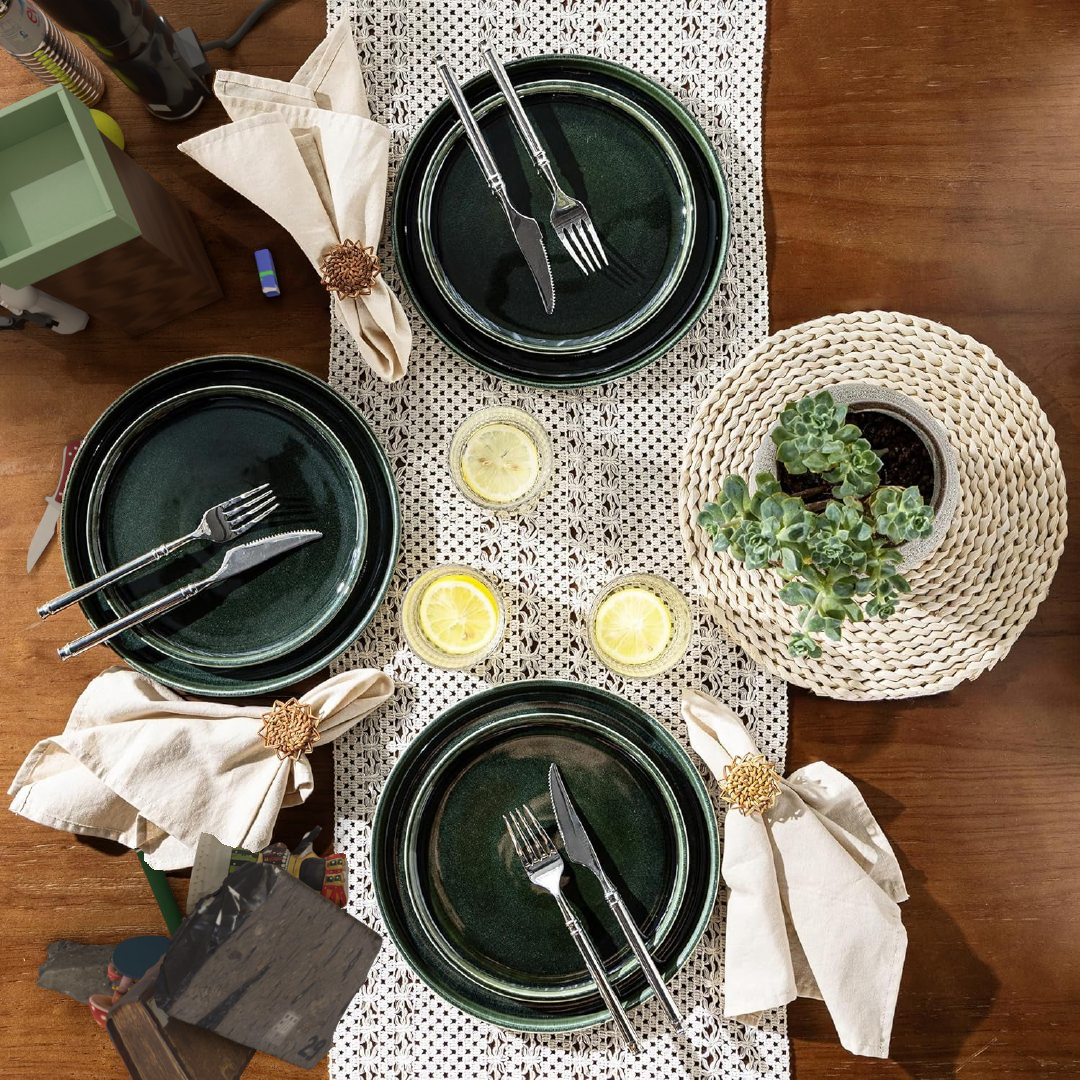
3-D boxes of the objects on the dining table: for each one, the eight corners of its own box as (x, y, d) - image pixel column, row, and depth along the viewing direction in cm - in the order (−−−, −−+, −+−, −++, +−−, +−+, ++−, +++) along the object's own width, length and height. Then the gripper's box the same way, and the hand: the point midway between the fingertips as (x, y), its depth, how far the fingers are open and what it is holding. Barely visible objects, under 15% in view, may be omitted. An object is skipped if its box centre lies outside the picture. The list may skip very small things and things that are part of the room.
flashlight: (165, 829, 116) (221, 960, 114) (130, 846, 115) (186, 978, 113) (152, 836, 111) (210, 974, 109) (116, 854, 110) (174, 993, 108)
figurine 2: (177, 960, 100) (340, 962, 106) (196, 840, 100) (359, 848, 105) (191, 911, 112) (337, 914, 117) (208, 803, 112) (354, 812, 117)
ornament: (128, 179, 115) (86, 145, 105) (81, 169, 115) (34, 134, 105) (139, 131, 115) (98, 91, 105) (91, 121, 115) (46, 80, 105)
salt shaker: (101, 308, 115) (42, 278, 102) (85, 344, 115) (23, 319, 102) (65, 291, 115) (1, 259, 102) (48, 327, 115) (-18, 300, 102)
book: (199, 911, 113) (95, 1014, 88) (244, 890, 113) (153, 987, 88) (249, 1019, 113) (159, 1153, 88) (294, 998, 113) (216, 1127, 88)
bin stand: (186, 207, 114) (85, 117, 90) (224, 296, 114) (133, 230, 90) (98, 247, 115) (-27, 168, 91) (135, 336, 115) (20, 281, 91)
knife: (67, 435, 113) (87, 443, 114) (72, 436, 115) (92, 444, 115) (13, 569, 114) (33, 577, 114) (18, 568, 115) (39, 576, 115)
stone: (35, 1012, 112) (-2, 1008, 104) (58, 942, 117) (25, 933, 108) (167, 1018, 112) (141, 1015, 104) (185, 948, 117) (162, 940, 109)
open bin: (89, 108, 90) (60, 81, 85) (142, 234, 90) (116, 215, 85) (-36, 164, 91) (-72, 142, 86) (17, 290, 91) (-16, 275, 85)
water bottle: (106, 111, 115) (-22, -10, 90) (60, 111, 115) (-82, -9, 90) (107, 63, 115) (-21, -71, 90) (60, 64, 115) (-80, -70, 90)
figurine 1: (104, 933, 107) (88, 993, 108) (96, 979, 99) (78, 1043, 99) (199, 936, 112) (183, 993, 113) (199, 980, 104) (182, 1041, 104)
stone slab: (285, 874, 91) (414, 957, 111) (255, 828, 97) (381, 915, 117) (152, 1013, 86) (312, 1075, 105) (129, 955, 92) (284, 1024, 112)
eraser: (262, 292, 112) (277, 289, 112) (253, 251, 112) (267, 248, 112) (267, 297, 114) (281, 294, 114) (257, 256, 114) (271, 253, 114)
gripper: (-99, 299, 104) (20, 352, 104) (-55, 199, 104) (64, 252, 103) (-54, 315, 112) (57, 365, 111) (-13, 222, 111) (98, 272, 111)
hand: (59, 310), depth 107 cm, fingers closed on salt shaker, 3 cm apart
